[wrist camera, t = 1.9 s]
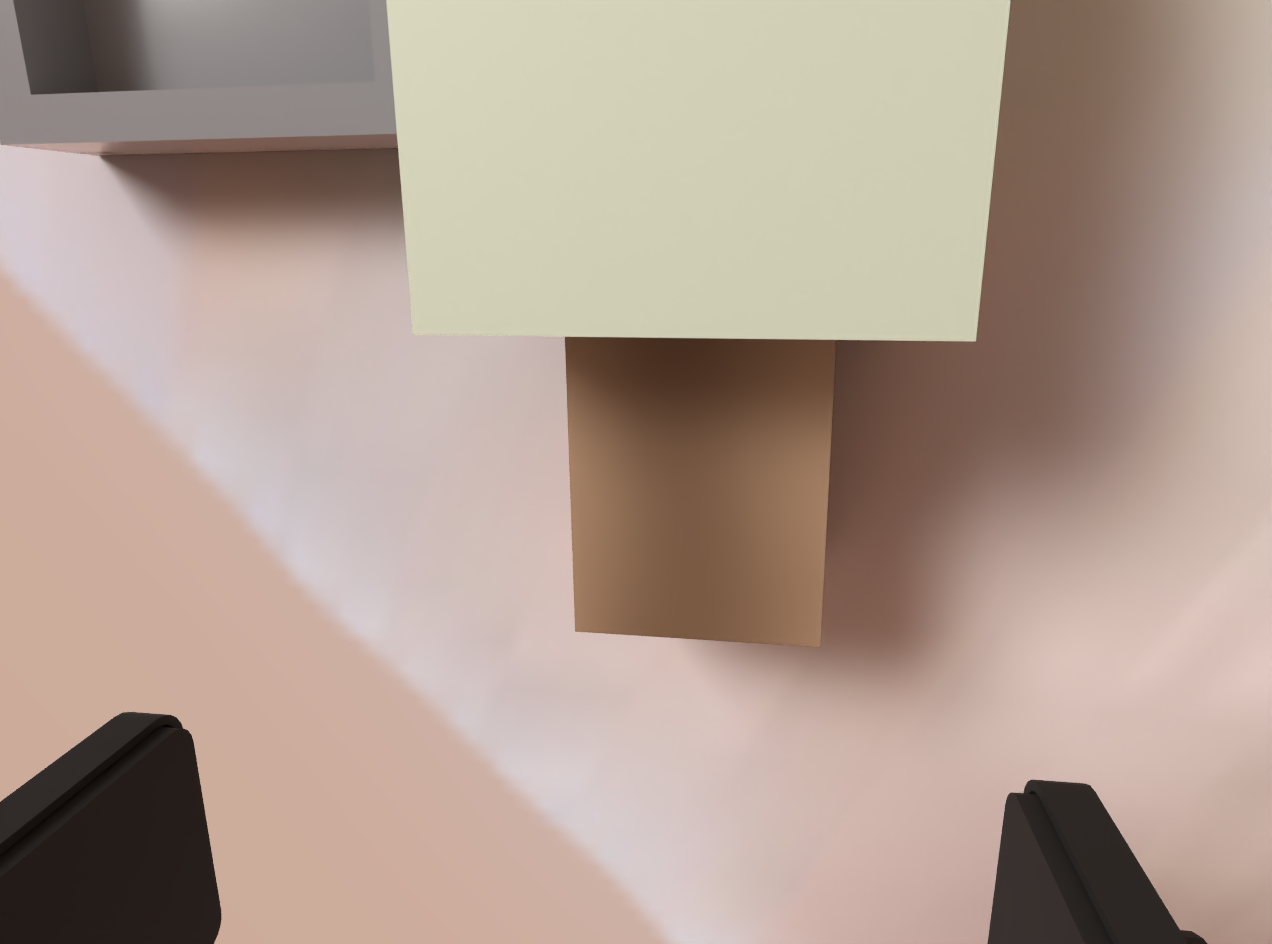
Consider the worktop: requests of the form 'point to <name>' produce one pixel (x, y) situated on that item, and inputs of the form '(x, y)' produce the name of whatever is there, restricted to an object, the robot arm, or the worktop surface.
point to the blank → (700, 486)
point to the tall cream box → (697, 166)
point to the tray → (195, 76)
